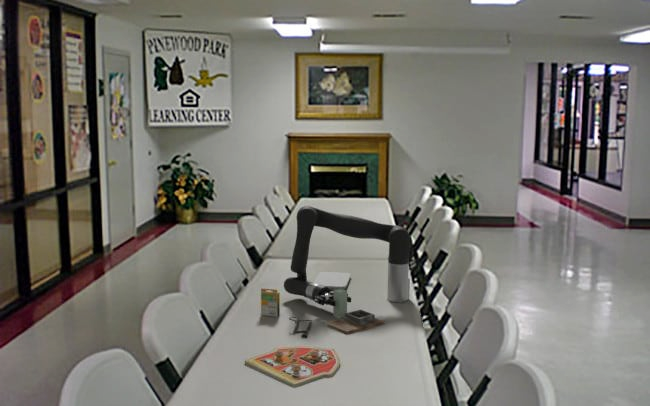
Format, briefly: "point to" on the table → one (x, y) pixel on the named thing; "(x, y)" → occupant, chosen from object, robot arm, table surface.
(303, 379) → the knob puzzle
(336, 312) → the peg block
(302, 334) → the hacksaw
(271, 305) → the crayon box
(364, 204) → the table surface
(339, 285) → the tablet
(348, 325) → the tool stand
